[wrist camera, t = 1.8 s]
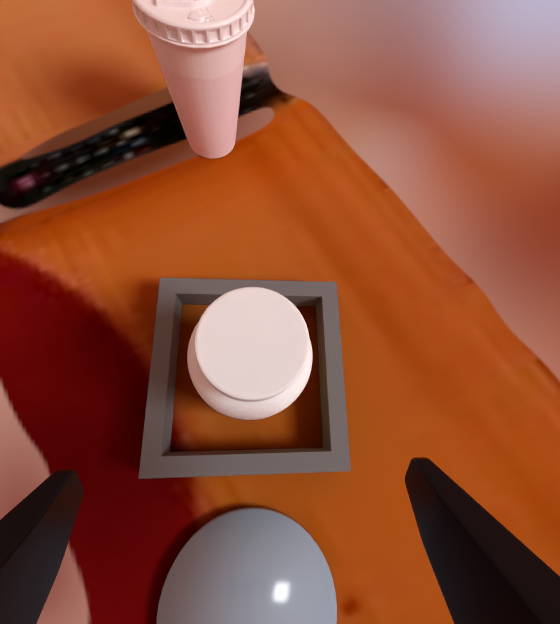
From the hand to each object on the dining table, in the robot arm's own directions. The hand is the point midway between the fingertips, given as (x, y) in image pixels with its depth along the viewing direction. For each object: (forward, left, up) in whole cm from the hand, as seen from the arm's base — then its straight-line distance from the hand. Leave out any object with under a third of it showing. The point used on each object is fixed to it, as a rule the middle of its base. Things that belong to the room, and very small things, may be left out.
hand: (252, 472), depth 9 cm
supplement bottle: (+3, +3, -11) cm, 12 cm away
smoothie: (+13, +18, -11) cm, 25 cm away
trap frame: (+3, +3, -11) cm, 11 cm away
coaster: (-5, -6, -11) cm, 13 cm away
